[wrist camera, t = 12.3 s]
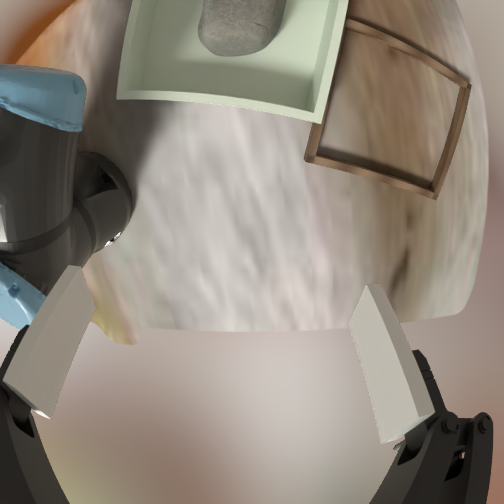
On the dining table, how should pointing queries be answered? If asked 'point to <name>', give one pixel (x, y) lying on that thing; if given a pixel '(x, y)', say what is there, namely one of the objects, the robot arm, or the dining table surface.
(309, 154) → the frame
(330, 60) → the bin
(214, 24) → the stone
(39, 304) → the robot arm
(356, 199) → the dining table surface
